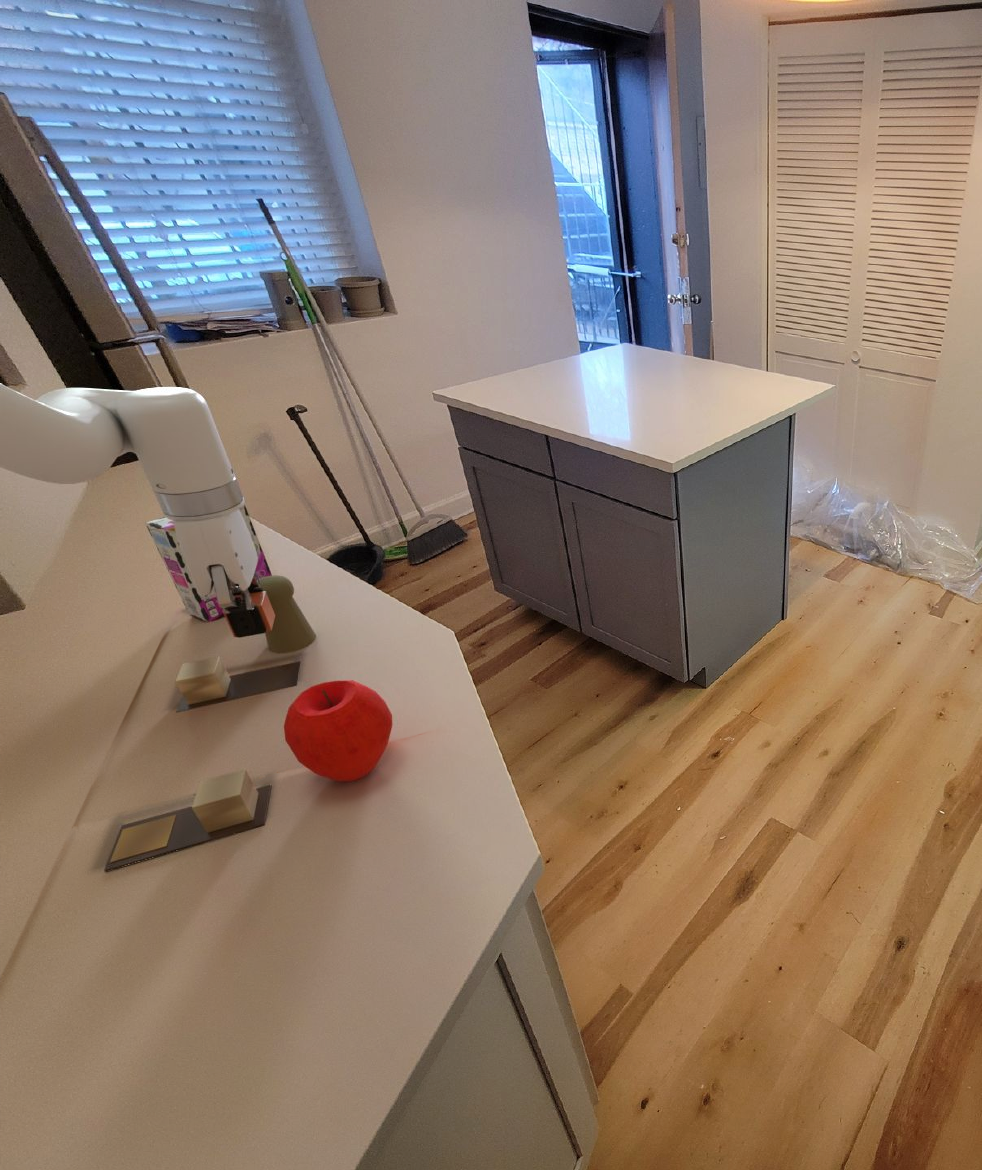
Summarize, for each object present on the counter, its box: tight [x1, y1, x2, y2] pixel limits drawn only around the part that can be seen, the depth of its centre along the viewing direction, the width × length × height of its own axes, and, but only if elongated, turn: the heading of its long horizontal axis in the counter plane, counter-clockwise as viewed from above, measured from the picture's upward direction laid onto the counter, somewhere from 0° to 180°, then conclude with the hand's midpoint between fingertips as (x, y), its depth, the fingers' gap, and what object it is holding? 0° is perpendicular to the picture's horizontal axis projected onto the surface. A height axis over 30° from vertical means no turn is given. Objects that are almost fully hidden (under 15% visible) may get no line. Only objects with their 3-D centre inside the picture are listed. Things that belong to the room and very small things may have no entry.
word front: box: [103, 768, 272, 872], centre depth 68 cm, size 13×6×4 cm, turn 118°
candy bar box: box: [144, 503, 273, 623], centre depth 100 cm, size 11×5×16 cm, turn 159°
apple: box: [283, 679, 393, 782], centre depth 73 cm, size 10×10×12 cm
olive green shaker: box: [257, 574, 317, 654], centre depth 94 cm, size 6×6×11 cm
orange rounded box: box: [223, 591, 275, 638], centre depth 84 cm, size 4×4×4 cm
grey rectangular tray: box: [174, 656, 302, 713], centre depth 87 cm, size 13×6×4 cm, turn 118°
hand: (254, 623), depth 85 cm, fingers closed on orange rounded box, 4 cm apart
